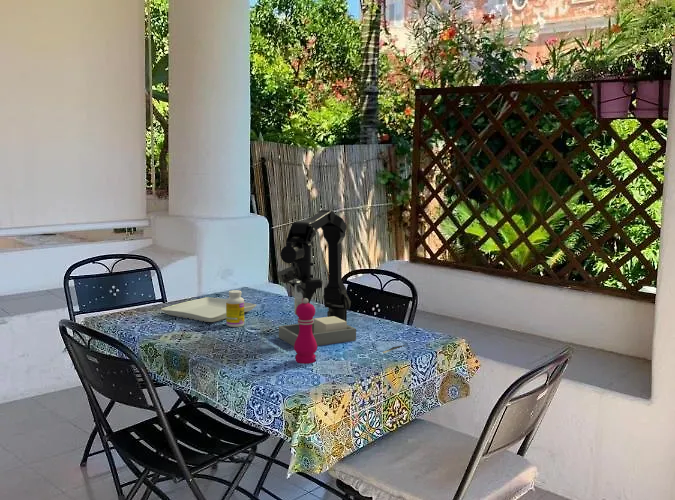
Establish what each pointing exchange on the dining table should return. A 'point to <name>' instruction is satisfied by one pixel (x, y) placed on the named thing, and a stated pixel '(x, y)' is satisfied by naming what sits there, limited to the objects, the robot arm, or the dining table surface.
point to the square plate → (203, 309)
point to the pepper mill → (305, 334)
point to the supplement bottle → (235, 309)
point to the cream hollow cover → (329, 324)
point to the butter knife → (392, 349)
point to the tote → (317, 335)
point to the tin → (298, 296)
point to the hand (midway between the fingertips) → (302, 304)
